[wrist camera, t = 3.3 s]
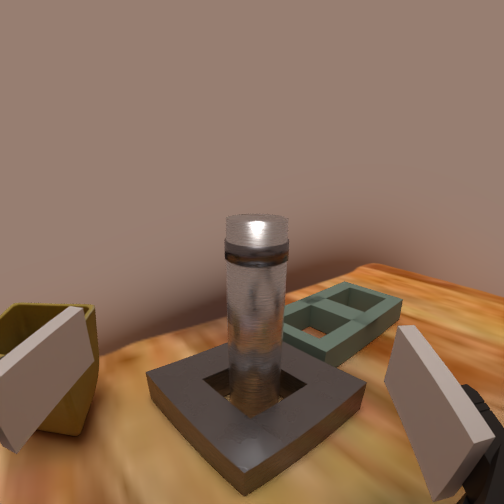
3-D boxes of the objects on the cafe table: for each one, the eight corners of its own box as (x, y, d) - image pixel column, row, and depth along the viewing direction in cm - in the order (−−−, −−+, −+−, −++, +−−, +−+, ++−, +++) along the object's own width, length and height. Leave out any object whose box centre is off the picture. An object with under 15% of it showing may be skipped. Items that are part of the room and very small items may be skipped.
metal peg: (289, 410, 24) (303, 219, 20) (251, 433, 22) (254, 226, 18) (256, 388, 28) (259, 212, 23) (219, 407, 25) (211, 217, 21)
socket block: (359, 408, 24) (366, 382, 23) (244, 496, 16) (244, 473, 15) (259, 353, 34) (260, 329, 33) (151, 398, 25) (145, 372, 25)
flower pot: (96, 458, 17) (57, 362, 15) (6, 440, 16) (-38, 348, 14) (115, 389, 26) (96, 303, 24) (39, 382, 25) (14, 301, 22)
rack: (399, 319, 40) (402, 299, 40) (322, 377, 29) (326, 352, 28) (342, 299, 48) (344, 281, 47) (254, 339, 36) (255, 317, 36)
